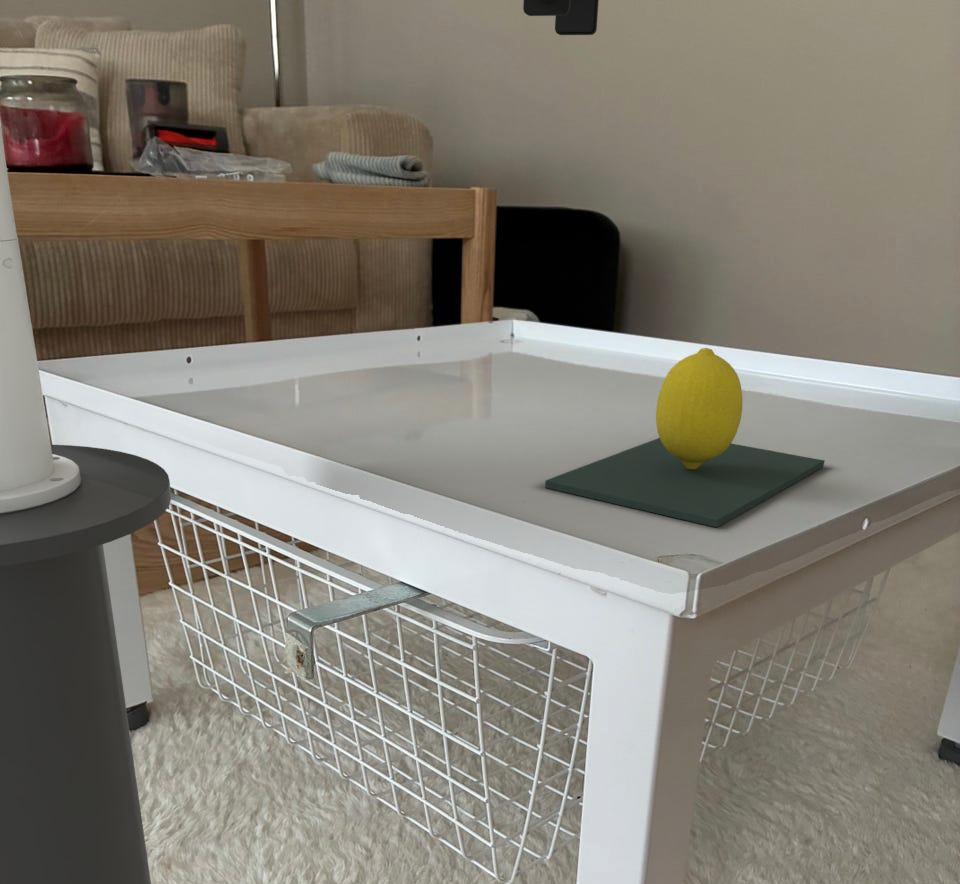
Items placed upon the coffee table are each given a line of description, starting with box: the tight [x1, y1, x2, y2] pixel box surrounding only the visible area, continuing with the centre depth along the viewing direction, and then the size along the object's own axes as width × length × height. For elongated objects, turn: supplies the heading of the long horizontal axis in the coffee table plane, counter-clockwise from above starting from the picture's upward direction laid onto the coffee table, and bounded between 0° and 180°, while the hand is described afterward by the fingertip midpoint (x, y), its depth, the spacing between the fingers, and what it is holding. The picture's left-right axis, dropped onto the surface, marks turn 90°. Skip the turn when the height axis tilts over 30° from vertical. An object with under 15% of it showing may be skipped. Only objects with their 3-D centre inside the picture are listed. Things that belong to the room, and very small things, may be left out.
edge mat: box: [544, 437, 825, 528], centre depth 67 cm, size 18×12×1 cm, turn 143°
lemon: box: [655, 347, 743, 470], centre depth 65 cm, size 6×6×8 cm
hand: (561, 25), depth 72 cm, fingers open, 9 cm apart
